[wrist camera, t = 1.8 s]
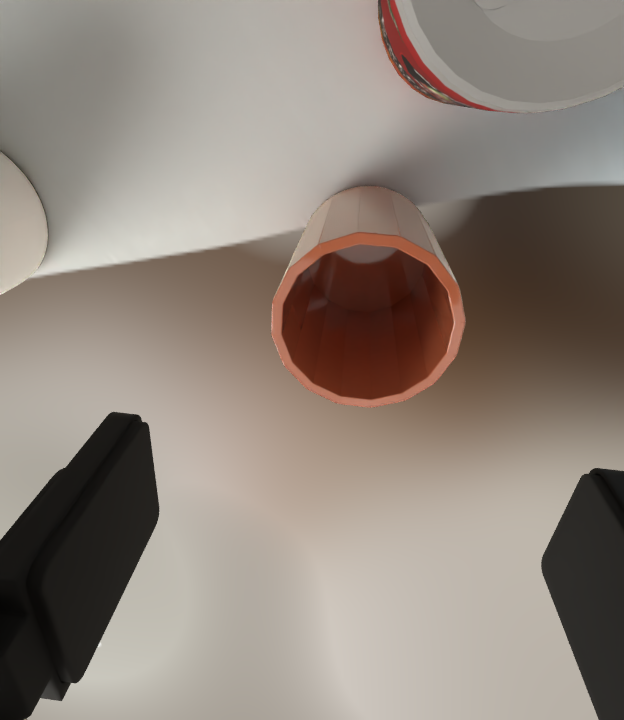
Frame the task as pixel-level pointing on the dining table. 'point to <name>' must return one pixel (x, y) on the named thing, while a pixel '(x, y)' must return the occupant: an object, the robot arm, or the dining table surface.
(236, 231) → the dining table surface
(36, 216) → the cup
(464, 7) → the canned food
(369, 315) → the terracotta cup
